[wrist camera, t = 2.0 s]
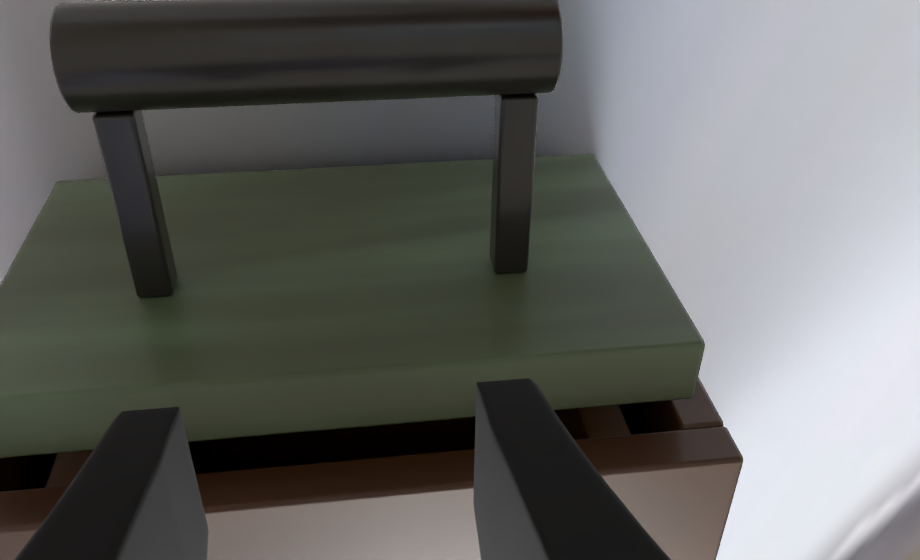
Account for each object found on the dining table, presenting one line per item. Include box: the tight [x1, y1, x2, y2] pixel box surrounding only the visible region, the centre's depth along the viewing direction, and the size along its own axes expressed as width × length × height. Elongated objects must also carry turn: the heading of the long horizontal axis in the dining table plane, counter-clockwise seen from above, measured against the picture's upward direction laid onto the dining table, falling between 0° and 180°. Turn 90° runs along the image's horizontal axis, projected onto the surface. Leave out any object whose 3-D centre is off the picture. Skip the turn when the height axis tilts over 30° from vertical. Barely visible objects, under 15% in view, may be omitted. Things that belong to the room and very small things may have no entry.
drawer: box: [0, 0, 705, 488], centre depth 18 cm, size 18×11×7 cm, turn 179°
